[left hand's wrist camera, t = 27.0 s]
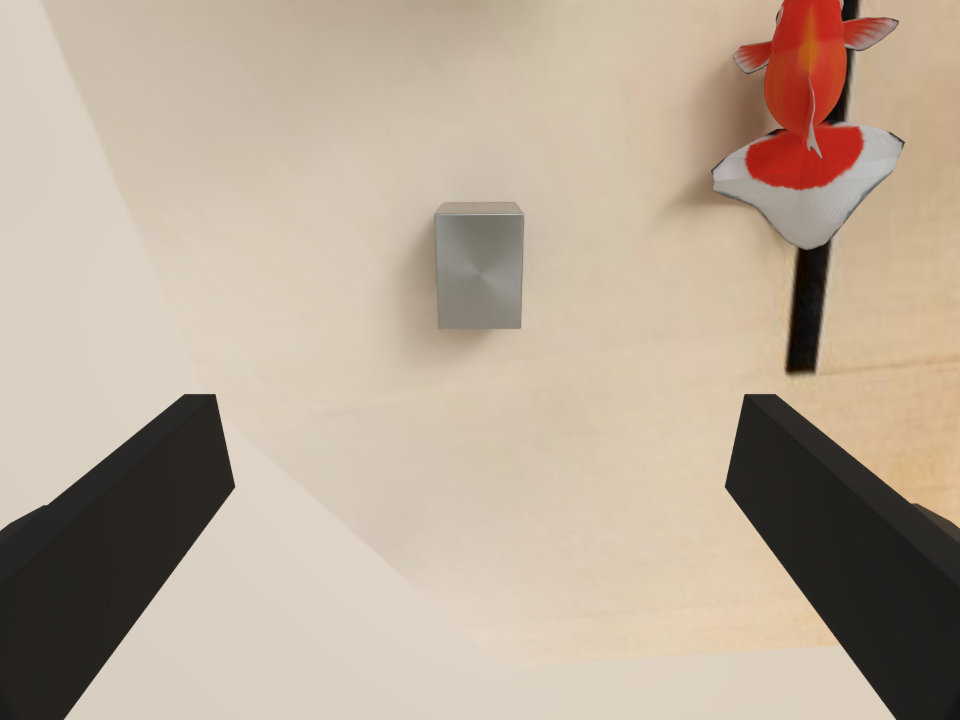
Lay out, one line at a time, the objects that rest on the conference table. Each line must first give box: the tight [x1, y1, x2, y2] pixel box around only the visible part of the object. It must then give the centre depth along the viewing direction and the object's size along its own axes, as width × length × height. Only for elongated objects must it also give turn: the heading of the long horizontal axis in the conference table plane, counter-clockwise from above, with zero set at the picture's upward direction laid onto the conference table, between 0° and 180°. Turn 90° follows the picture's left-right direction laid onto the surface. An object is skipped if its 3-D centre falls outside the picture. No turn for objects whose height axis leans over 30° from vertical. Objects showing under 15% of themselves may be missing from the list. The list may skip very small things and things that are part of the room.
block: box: [434, 202, 524, 329], centre depth 35 cm, size 7×5×8 cm
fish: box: [711, 0, 905, 250], centre depth 32 cm, size 11×16×10 cm
